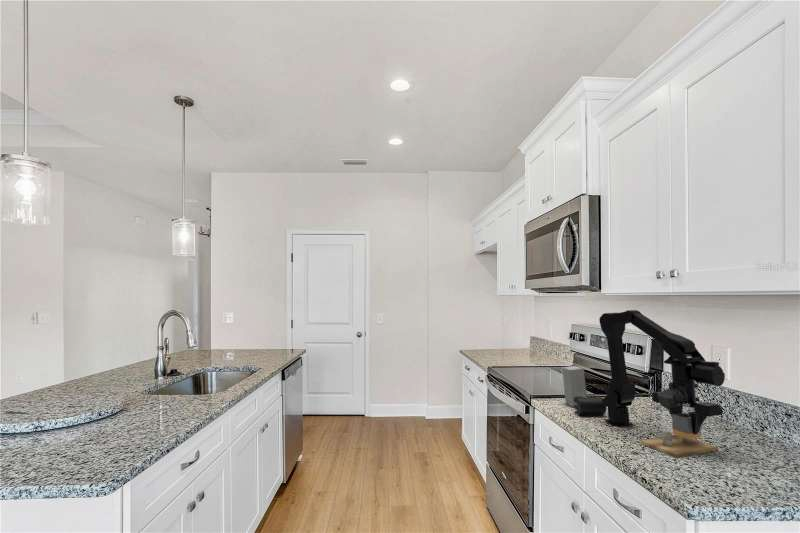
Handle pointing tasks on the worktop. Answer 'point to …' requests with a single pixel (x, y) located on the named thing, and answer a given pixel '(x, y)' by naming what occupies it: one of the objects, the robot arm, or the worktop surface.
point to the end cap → (589, 406)
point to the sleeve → (683, 426)
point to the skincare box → (574, 384)
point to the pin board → (678, 445)
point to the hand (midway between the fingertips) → (686, 431)
